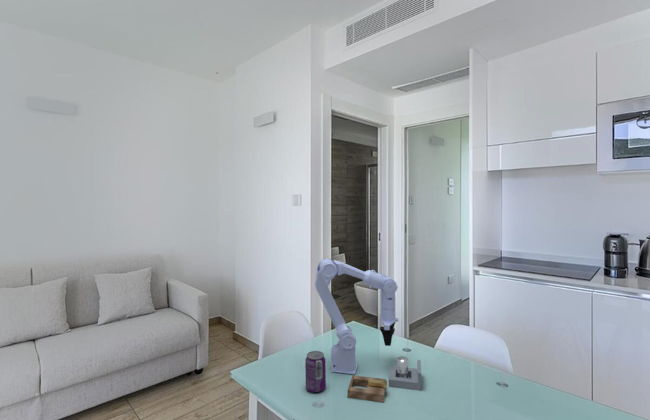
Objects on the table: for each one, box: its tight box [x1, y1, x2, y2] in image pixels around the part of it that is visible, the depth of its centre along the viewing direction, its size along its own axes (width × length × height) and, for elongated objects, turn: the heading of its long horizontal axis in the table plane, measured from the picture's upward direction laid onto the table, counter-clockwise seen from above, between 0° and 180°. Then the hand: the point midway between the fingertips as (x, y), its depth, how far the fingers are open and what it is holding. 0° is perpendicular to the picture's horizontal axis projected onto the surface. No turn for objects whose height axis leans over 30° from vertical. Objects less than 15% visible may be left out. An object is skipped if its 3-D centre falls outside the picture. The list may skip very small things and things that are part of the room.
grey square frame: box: [388, 359, 423, 391], centre depth 121 cm, size 11×10×6 cm
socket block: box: [347, 374, 387, 403], centre depth 115 cm, size 12×10×2 cm
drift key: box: [368, 379, 388, 389], centre depth 114 cm, size 6×3×1 cm, turn 76°
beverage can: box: [304, 350, 327, 393], centre depth 117 cm, size 7×7×12 cm
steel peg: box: [396, 356, 409, 379], centre depth 122 cm, size 4×4×8 cm
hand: (388, 341), depth 132 cm, fingers open, 7 cm apart
